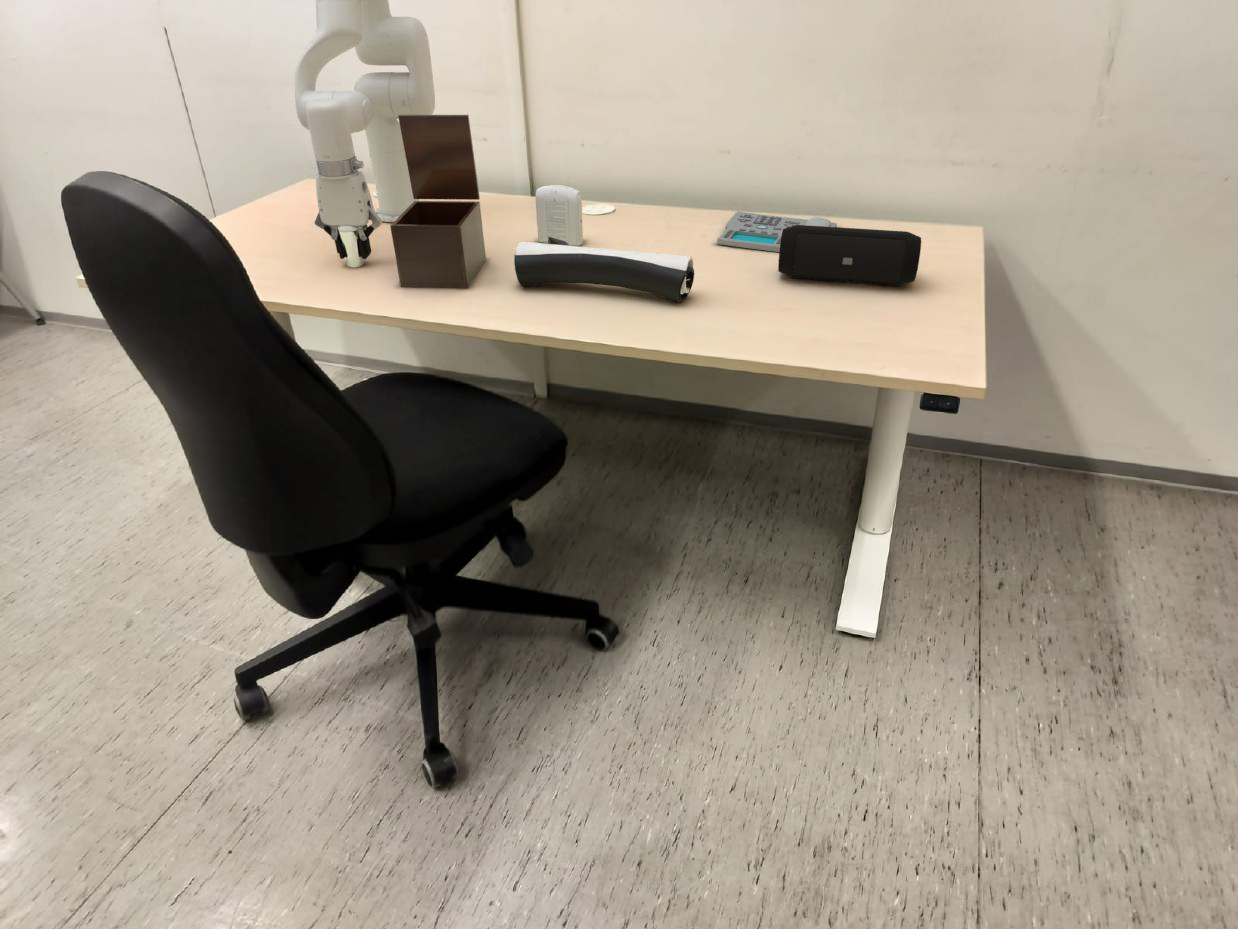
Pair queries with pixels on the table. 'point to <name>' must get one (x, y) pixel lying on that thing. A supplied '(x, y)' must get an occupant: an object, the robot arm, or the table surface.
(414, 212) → the chest
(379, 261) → the table surface
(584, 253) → the curved black white bar
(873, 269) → the portable speaker
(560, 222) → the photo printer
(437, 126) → the lid
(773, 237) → the office telephone
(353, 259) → the milkshake
